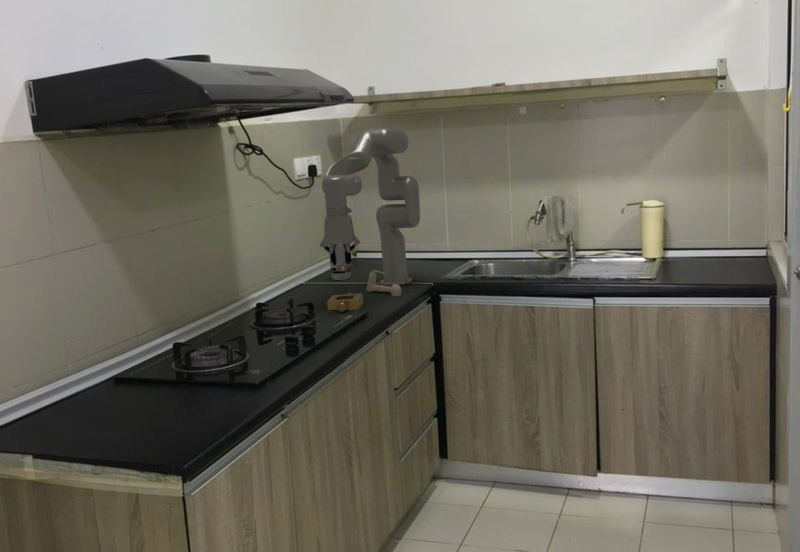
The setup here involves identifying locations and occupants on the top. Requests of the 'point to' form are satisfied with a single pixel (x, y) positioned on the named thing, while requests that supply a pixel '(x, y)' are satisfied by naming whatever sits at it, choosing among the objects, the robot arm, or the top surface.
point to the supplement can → (339, 272)
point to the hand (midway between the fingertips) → (341, 263)
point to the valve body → (345, 302)
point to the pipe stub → (340, 257)
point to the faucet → (372, 285)
